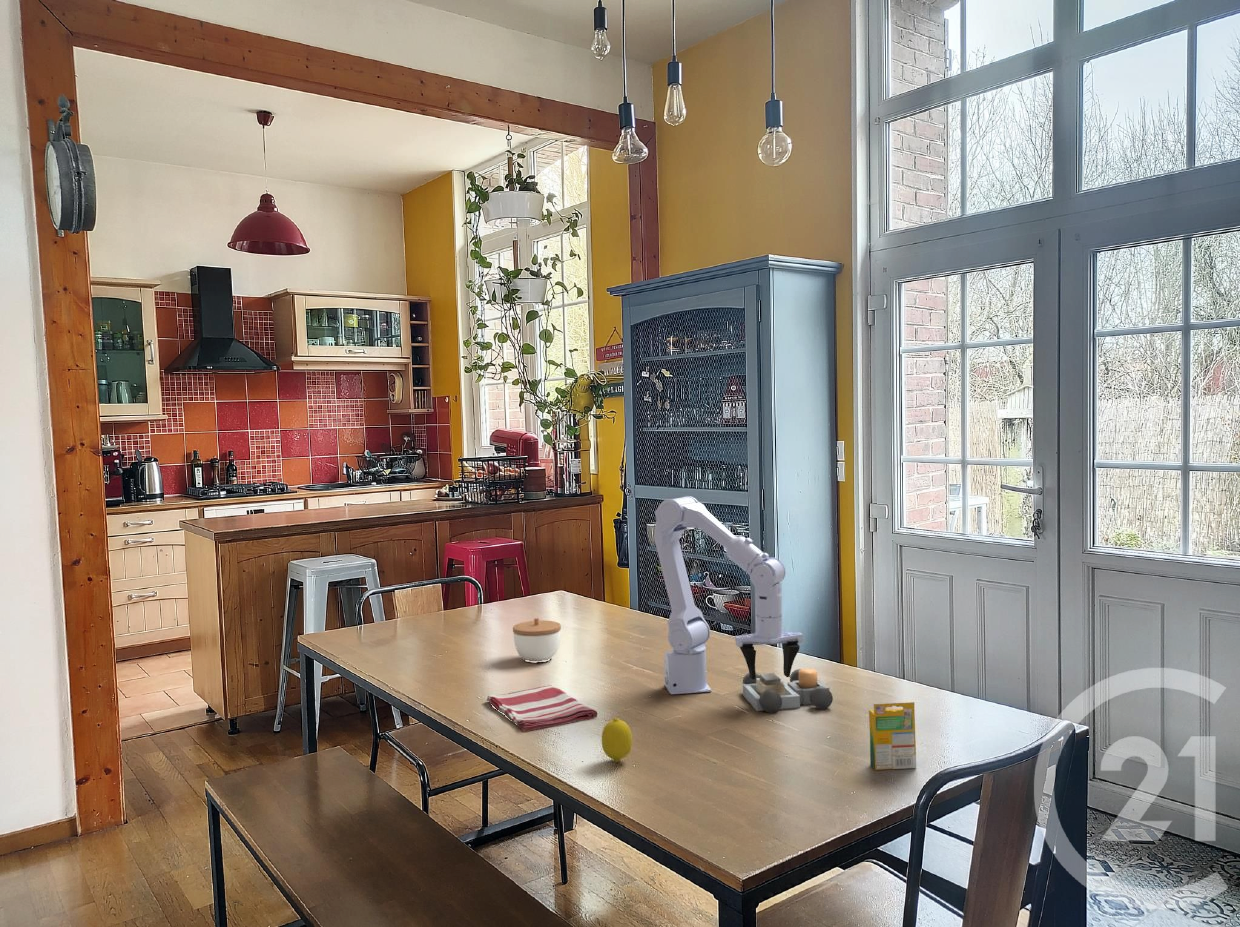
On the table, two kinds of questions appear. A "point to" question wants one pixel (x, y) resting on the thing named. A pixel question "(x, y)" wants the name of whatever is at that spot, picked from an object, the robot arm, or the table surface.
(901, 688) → the table surface
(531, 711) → the dish towel
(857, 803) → the table surface
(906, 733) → the crayon box
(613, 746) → the lemon
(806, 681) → the orange rounded peg
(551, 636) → the lidded bowl
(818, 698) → the frame
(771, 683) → the two-tone stepped block
